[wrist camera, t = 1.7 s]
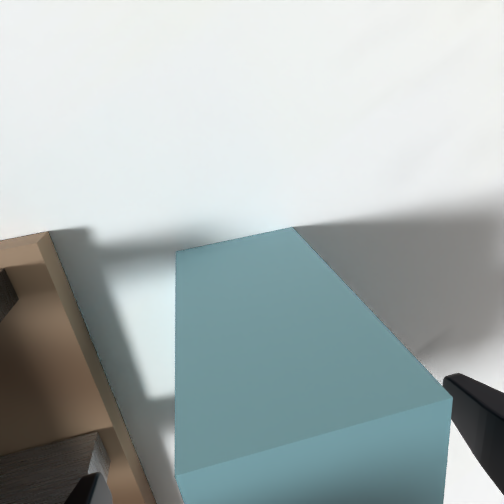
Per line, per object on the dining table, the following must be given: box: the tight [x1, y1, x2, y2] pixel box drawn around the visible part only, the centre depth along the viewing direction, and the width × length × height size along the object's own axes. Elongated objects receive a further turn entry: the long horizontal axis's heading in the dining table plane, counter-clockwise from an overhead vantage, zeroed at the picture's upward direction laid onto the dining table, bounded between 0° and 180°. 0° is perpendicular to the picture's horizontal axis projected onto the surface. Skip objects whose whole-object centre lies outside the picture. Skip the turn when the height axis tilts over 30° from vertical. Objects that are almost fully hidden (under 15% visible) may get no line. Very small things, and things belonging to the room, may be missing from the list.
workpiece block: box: [175, 227, 453, 504], centre depth 10 cm, size 7×4×8 cm, turn 9°
